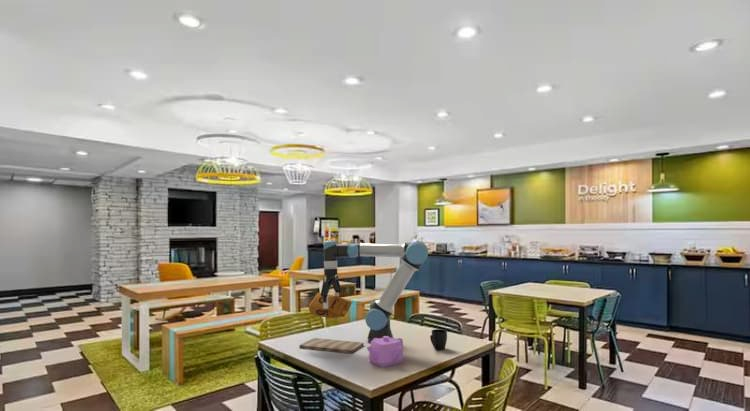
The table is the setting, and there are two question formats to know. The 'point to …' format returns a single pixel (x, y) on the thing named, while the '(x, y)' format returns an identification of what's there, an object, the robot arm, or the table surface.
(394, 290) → the robot arm
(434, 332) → the mug
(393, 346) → the teakettle
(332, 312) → the coffee package
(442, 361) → the table surface
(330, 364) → the table surface
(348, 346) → the walnut board
